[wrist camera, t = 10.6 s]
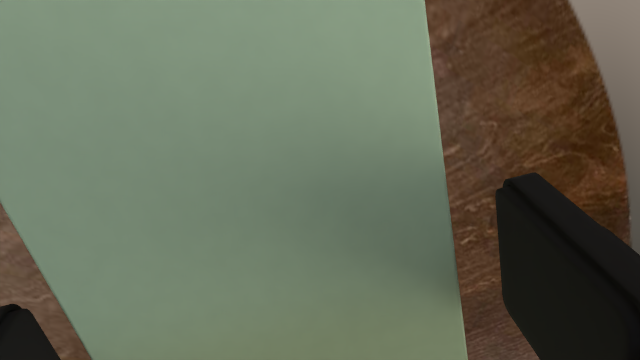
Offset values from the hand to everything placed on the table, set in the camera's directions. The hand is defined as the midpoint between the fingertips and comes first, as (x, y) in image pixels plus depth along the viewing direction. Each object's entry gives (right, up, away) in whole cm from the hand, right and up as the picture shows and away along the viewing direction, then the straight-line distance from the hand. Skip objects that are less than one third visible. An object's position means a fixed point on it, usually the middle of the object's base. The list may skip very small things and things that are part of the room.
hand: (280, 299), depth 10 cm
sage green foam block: (0, +1, +2) cm, 2 cm away
